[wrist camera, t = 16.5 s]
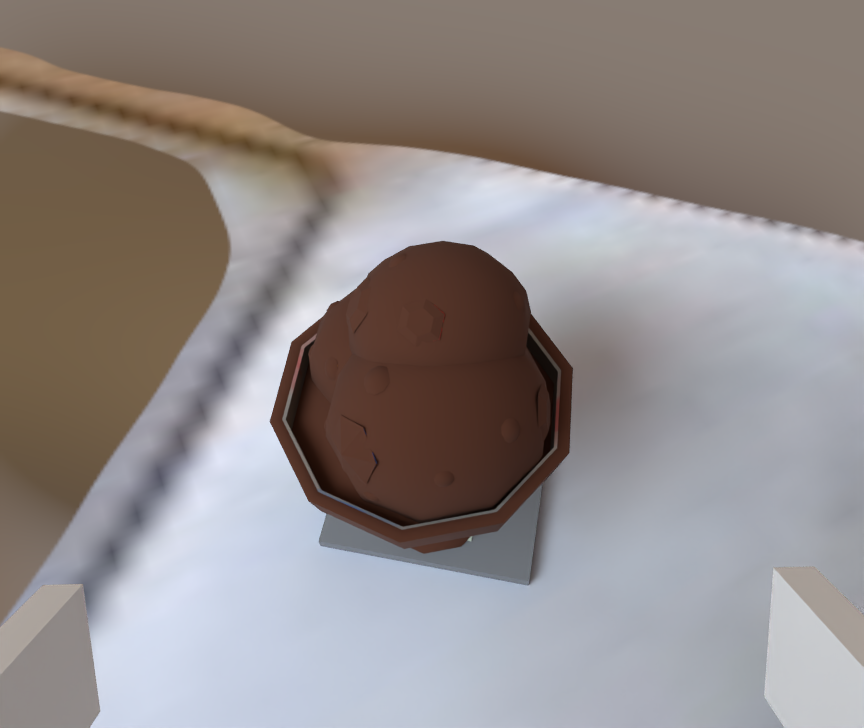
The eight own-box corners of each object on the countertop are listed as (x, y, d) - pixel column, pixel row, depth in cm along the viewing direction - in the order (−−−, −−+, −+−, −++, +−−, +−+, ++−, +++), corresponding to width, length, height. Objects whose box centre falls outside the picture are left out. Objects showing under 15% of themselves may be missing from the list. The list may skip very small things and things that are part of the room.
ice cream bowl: (301, 418, 38) (223, 204, 26) (520, 379, 39) (549, 153, 26) (325, 634, 33) (239, 497, 20) (580, 584, 34) (652, 422, 21)
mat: (546, 452, 38) (547, 446, 37) (528, 585, 34) (529, 580, 34) (356, 421, 39) (354, 414, 38) (320, 545, 36) (318, 540, 35)
